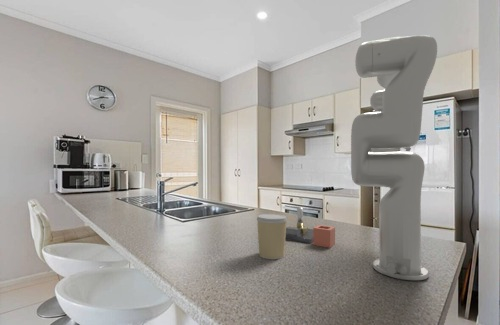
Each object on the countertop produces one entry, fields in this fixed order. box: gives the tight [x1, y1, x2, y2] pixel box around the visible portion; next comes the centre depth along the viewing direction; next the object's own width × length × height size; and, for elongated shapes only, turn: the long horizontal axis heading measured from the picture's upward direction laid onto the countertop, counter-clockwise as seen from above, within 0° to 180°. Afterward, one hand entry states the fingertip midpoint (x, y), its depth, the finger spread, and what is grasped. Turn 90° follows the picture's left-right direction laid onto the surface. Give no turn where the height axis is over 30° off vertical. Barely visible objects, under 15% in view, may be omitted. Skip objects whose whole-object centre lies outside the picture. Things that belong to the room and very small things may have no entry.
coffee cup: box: [256, 213, 288, 260], centre depth 80 cm, size 9×9×12 cm
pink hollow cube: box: [312, 224, 336, 249], centre depth 92 cm, size 6×6×6 cm
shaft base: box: [285, 206, 313, 244], centre depth 103 cm, size 16×13×11 cm
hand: (385, 169), depth 103 cm, fingers open, 9 cm apart
